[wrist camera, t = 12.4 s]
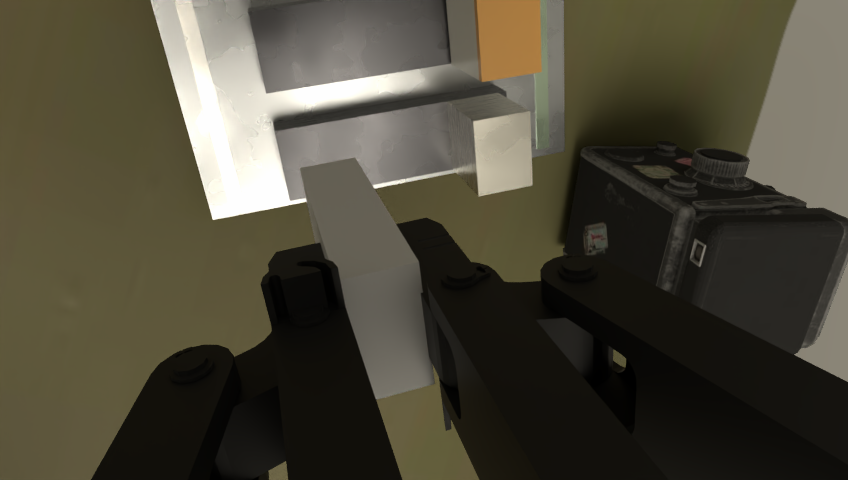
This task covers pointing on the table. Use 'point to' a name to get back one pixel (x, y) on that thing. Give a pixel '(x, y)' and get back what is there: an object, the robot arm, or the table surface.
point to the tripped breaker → (495, 37)
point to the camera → (711, 237)
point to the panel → (350, 97)
